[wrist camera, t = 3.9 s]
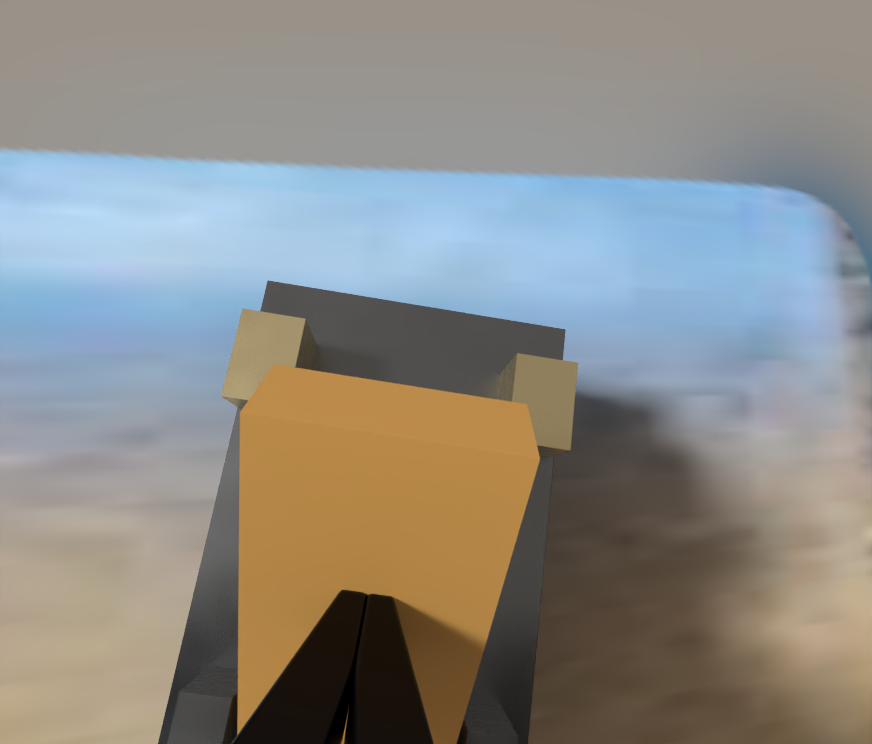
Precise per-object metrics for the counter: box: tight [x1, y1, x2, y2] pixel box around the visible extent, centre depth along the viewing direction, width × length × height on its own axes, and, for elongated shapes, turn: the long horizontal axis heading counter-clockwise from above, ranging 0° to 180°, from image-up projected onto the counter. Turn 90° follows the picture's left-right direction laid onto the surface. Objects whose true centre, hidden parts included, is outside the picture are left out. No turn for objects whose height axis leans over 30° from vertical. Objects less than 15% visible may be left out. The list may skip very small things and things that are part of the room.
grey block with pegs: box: [158, 281, 578, 744], centre depth 15 cm, size 13×8×8 cm, turn 172°
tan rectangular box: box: [237, 364, 540, 744], centre depth 10 cm, size 9×4×2 cm
